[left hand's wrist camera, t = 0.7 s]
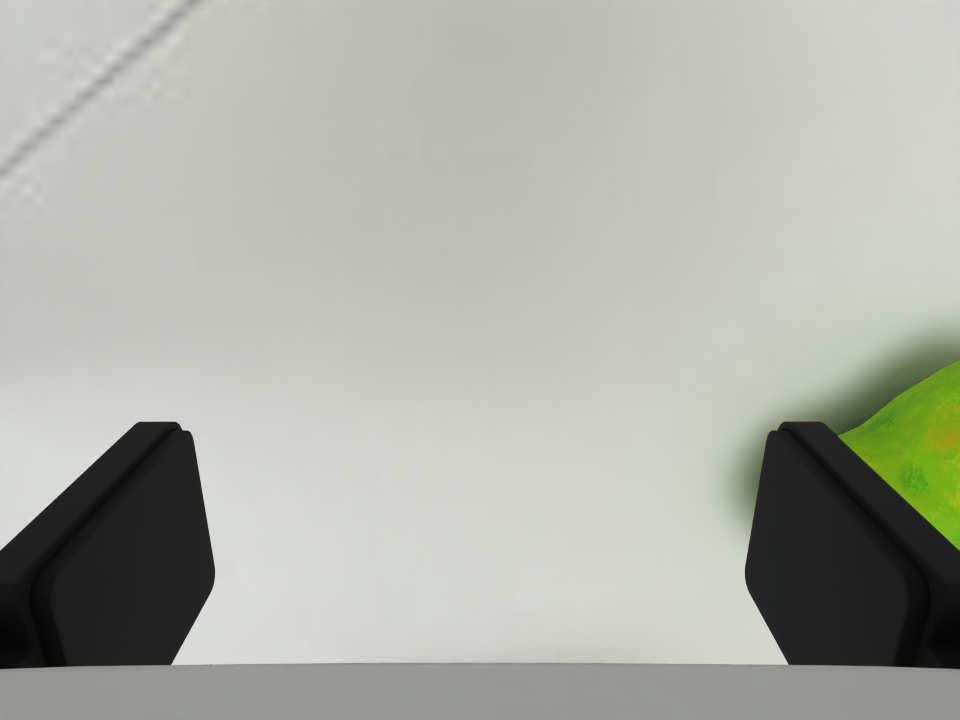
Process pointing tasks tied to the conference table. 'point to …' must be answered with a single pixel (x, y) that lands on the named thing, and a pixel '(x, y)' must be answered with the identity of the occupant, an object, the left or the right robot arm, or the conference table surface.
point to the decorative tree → (919, 448)
